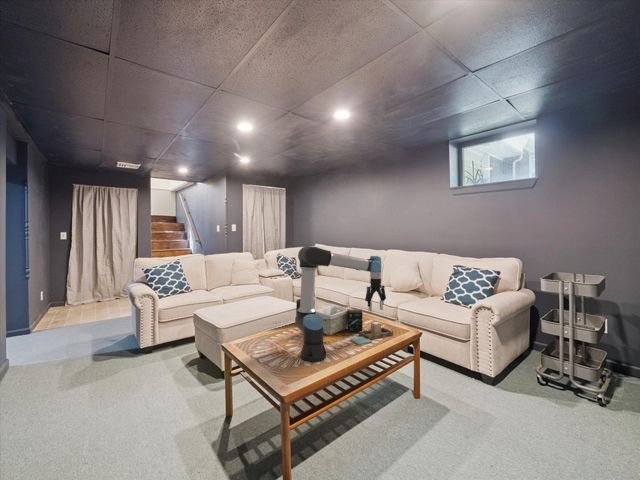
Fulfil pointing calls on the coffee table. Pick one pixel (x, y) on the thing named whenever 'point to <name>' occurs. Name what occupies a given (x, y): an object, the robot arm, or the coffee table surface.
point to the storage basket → (333, 319)
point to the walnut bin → (383, 334)
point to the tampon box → (354, 320)
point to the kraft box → (375, 328)
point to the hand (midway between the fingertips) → (375, 310)
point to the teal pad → (361, 340)
